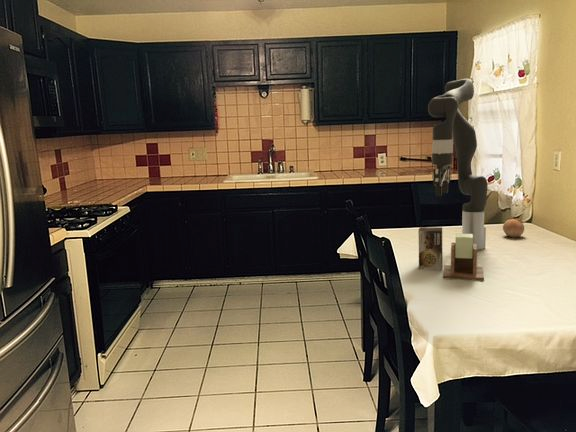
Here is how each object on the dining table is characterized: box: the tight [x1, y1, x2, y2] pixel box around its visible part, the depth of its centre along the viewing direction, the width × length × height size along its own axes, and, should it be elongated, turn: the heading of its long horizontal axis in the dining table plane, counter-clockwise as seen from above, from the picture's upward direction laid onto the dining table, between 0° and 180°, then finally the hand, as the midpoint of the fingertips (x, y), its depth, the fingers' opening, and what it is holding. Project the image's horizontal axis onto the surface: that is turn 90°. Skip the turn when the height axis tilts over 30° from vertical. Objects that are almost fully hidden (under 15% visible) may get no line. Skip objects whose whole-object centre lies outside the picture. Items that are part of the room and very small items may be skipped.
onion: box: [502, 218, 525, 238], centre depth 233 cm, size 10×9×10 cm
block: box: [454, 233, 473, 259], centre depth 180 cm, size 6×6×8 cm
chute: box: [443, 242, 485, 281], centre depth 181 cm, size 14×14×11 cm
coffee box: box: [417, 226, 444, 271], centre depth 190 cm, size 9×6×16 cm
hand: (441, 194), depth 182 cm, fingers open, 8 cm apart
